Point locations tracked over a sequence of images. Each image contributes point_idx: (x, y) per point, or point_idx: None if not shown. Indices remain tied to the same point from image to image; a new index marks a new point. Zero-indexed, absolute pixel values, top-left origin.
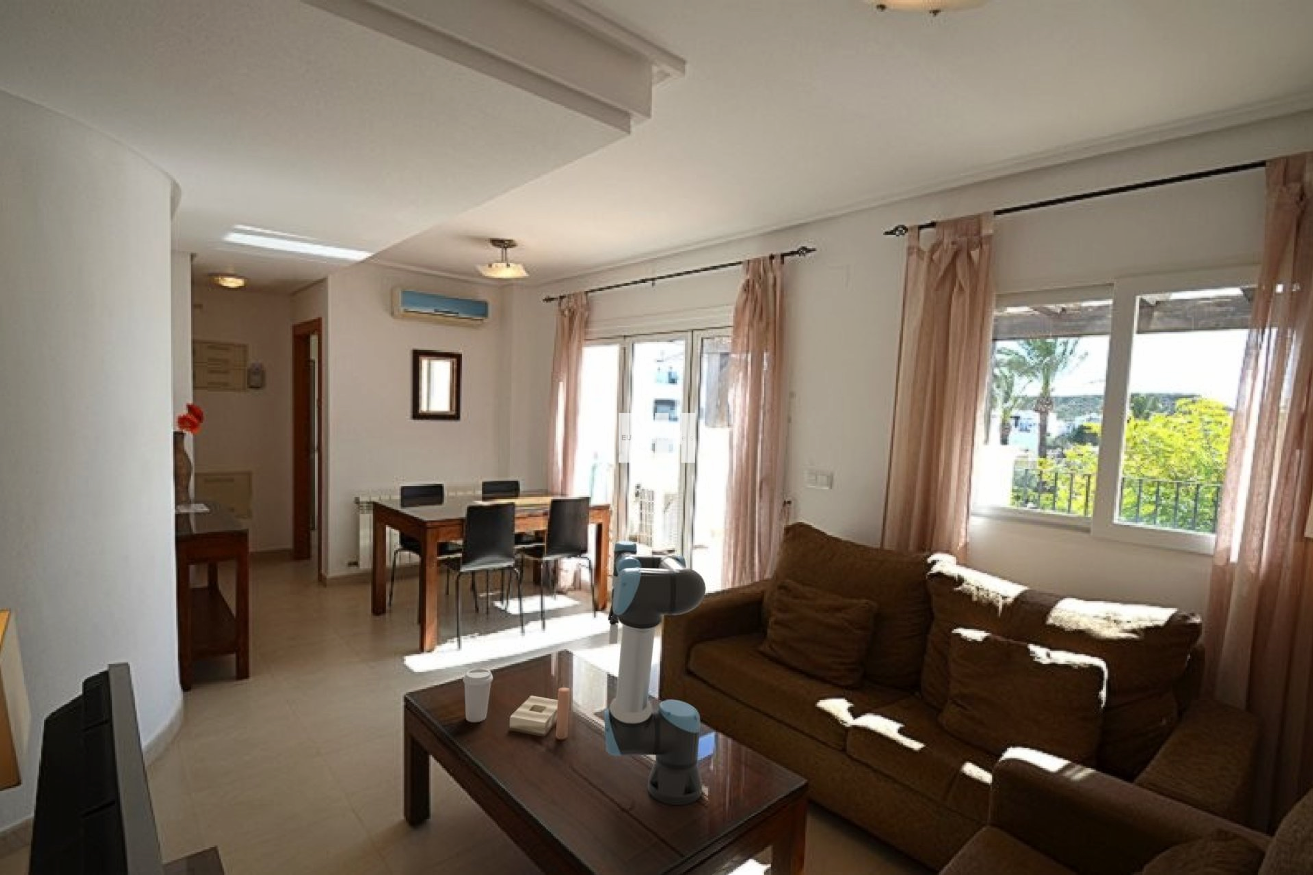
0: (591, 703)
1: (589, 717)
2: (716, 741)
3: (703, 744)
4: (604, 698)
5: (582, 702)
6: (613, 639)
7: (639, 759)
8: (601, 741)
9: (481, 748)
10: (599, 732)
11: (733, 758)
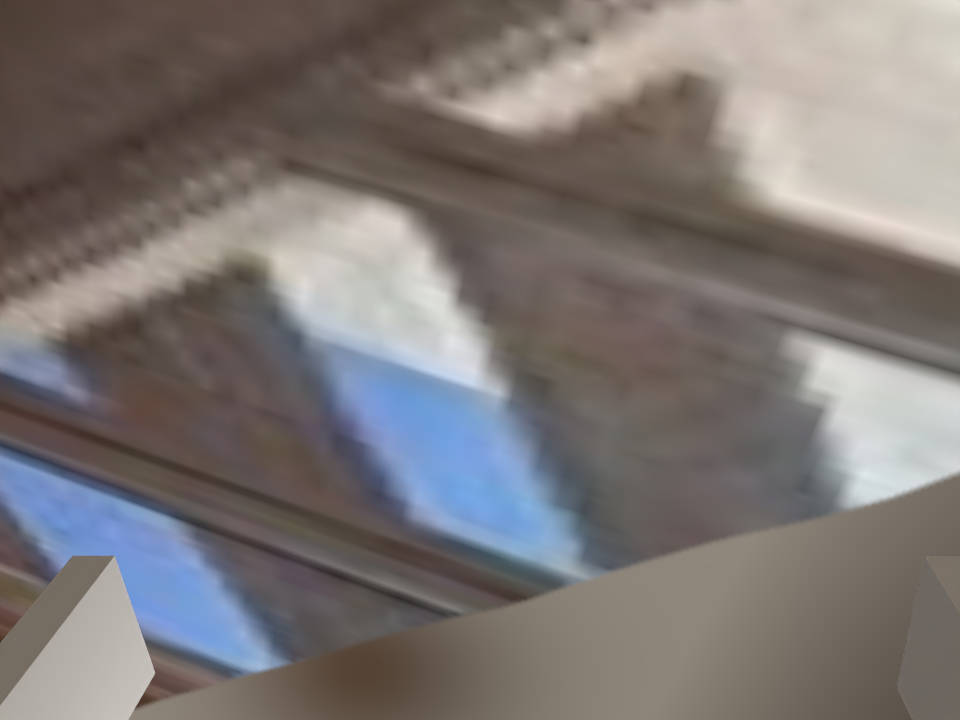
0: (891, 98)
1: (640, 15)
2: (195, 659)
3: (169, 597)
4: (935, 235)
5: (948, 16)
6: (952, 697)
7: (3, 222)
8: (238, 21)
9: None
10: (375, 40)
11: None
